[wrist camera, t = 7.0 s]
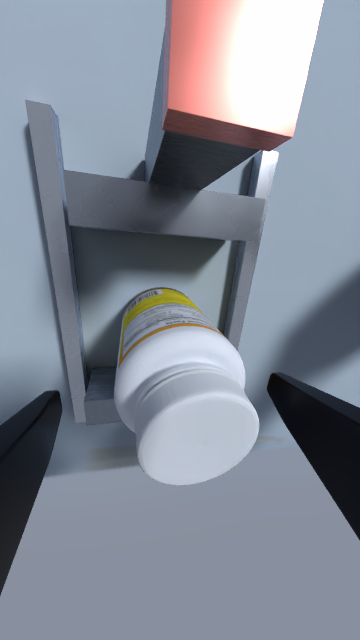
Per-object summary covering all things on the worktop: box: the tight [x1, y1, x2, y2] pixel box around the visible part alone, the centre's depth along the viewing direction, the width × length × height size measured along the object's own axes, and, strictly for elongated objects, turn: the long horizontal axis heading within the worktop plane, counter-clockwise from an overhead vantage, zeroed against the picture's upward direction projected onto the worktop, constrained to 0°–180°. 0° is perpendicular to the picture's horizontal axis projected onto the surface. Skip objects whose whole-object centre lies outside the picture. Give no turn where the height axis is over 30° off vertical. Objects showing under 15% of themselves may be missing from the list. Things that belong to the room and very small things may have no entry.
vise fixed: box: [25, 100, 279, 425], centre depth 13 cm, size 13×19×4 cm
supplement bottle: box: [114, 287, 259, 486], centre depth 11 cm, size 6×6×10 cm
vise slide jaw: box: [63, 0, 323, 242], centre depth 8 cm, size 9×4×9 cm, turn 85°
